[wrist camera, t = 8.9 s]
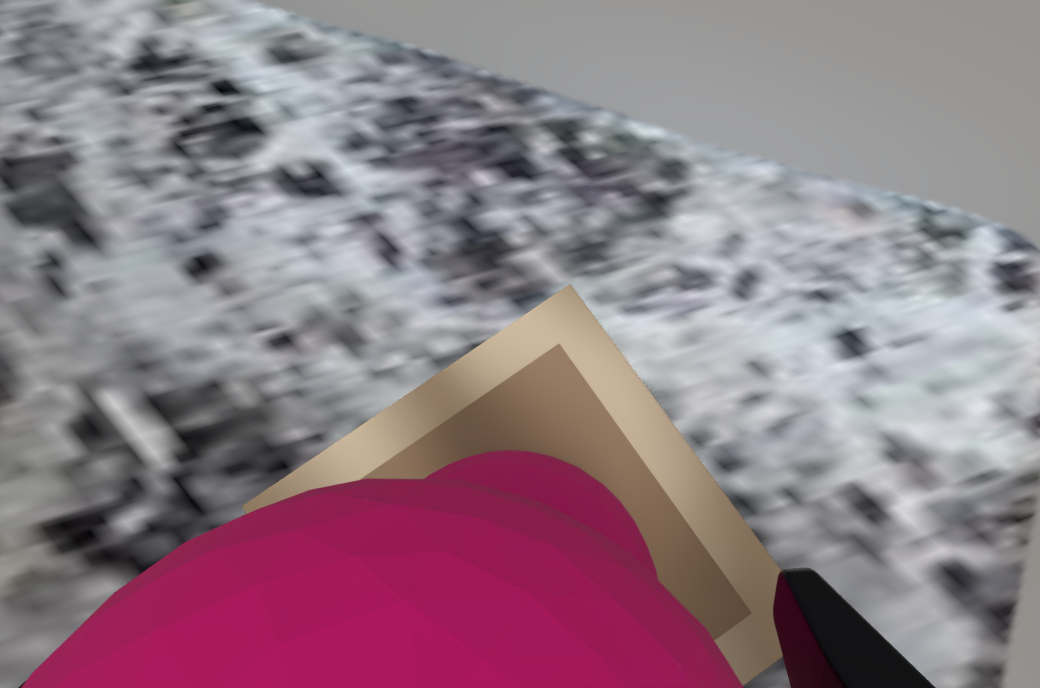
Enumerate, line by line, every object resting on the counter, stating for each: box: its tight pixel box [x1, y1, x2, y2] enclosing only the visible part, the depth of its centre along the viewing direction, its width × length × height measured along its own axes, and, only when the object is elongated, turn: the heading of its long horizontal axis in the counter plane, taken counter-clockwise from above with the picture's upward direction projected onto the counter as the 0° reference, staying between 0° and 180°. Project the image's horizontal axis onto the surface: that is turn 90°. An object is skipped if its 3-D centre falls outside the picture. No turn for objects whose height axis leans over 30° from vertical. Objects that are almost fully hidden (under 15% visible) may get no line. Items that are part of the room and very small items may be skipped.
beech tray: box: [242, 284, 783, 686], centre depth 21 cm, size 13×13×1 cm
